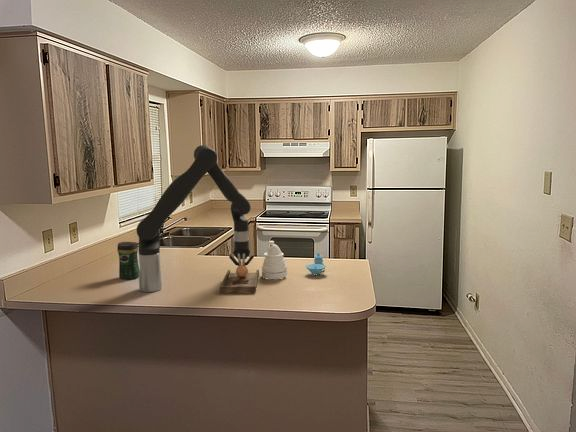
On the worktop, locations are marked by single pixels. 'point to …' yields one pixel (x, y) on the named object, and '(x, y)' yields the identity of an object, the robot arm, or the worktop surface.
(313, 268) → the light blue flared piece
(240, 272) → the ball
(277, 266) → the honey pot
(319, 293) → the worktop surface
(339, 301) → the worktop surface
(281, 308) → the worktop surface
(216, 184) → the robot arm
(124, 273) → the coffee jar
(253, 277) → the track
